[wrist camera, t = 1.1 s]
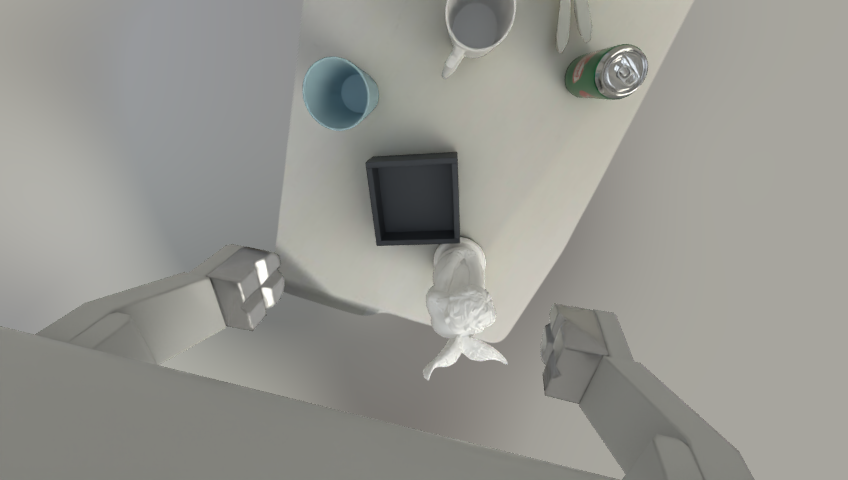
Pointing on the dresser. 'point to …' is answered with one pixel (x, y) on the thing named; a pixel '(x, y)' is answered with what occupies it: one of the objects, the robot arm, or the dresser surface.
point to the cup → (338, 93)
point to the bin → (415, 198)
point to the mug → (476, 28)
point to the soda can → (607, 73)
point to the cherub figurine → (460, 304)
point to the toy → (581, 18)
